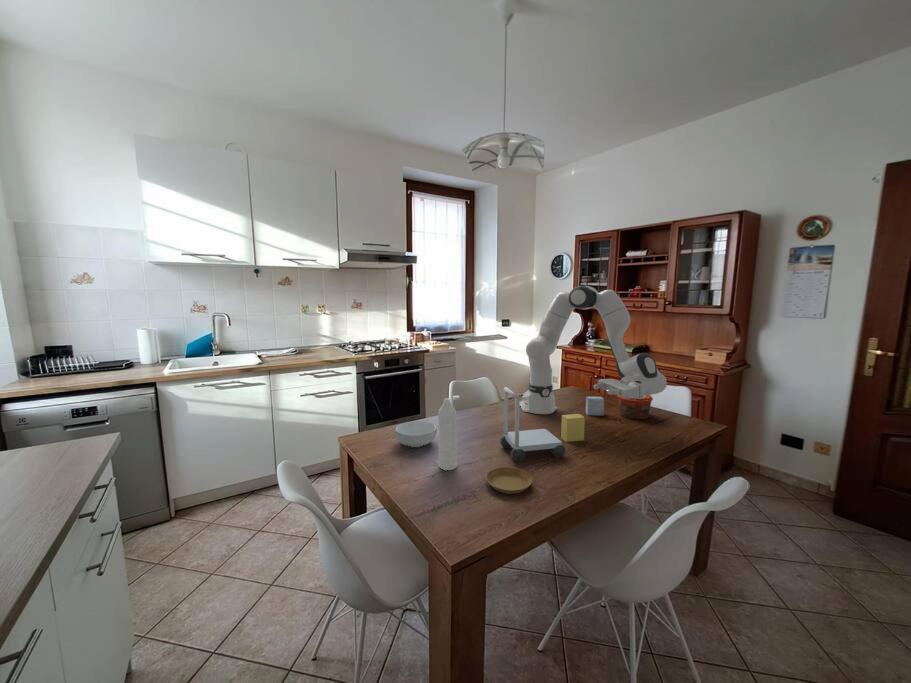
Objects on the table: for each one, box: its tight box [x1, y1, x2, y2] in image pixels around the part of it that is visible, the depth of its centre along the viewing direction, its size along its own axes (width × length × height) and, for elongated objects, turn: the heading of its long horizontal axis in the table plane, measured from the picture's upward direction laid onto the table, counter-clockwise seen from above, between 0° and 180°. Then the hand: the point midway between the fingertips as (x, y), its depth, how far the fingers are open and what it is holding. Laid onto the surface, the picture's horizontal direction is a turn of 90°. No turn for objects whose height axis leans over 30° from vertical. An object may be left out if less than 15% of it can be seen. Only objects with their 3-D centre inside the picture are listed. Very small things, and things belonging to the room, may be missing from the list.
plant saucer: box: [485, 466, 533, 495], centre depth 117 cm, size 15×15×3 cm
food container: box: [616, 395, 654, 420], centre depth 181 cm, size 16×16×11 cm
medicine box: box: [585, 396, 605, 416], centre depth 183 cm, size 8×4×9 cm, turn 84°
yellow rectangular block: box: [560, 413, 586, 443], centre depth 152 cm, size 4×8×10 cm, turn 102°
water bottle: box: [437, 395, 461, 471], centre depth 129 cm, size 9×6×25 cm
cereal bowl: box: [395, 420, 438, 448], centre depth 149 cm, size 17×17×7 cm
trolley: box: [499, 386, 566, 463], centre depth 139 cm, size 14×21×25 cm, turn 102°
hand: (600, 389), depth 153 cm, fingers open, 8 cm apart
